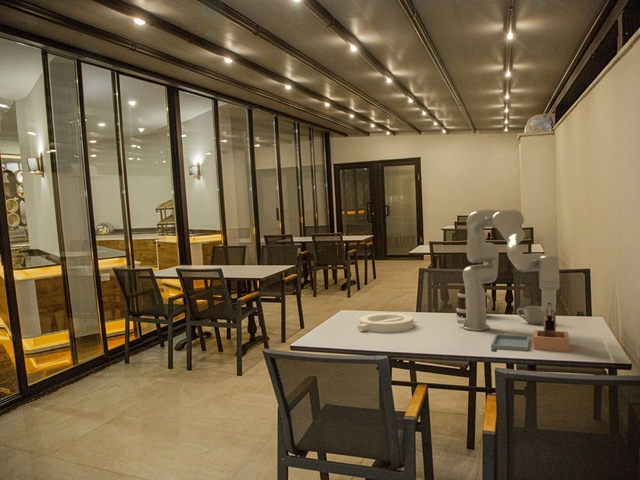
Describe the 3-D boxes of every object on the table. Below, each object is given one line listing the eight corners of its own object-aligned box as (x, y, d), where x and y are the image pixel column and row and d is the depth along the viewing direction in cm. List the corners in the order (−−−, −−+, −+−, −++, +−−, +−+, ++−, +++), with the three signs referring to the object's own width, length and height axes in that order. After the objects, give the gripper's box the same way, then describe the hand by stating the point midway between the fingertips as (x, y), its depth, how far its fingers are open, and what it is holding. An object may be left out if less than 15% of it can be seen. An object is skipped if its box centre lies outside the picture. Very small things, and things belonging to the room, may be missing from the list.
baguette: (544, 343, 201) (543, 316, 200) (544, 340, 205) (543, 314, 204) (556, 344, 199) (555, 317, 198) (555, 341, 203) (555, 315, 202)
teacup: (548, 322, 251) (547, 306, 251) (545, 326, 242) (544, 310, 242) (519, 320, 259) (519, 305, 258) (515, 324, 250) (515, 308, 249)
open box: (533, 351, 198) (533, 336, 198) (534, 343, 210) (533, 330, 210) (569, 353, 193) (569, 338, 193) (568, 345, 205) (567, 331, 204)
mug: (455, 318, 271) (454, 291, 271) (457, 312, 285) (456, 287, 285) (493, 319, 264) (492, 291, 264) (493, 313, 279) (492, 287, 278)
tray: (491, 350, 202) (491, 344, 202) (495, 339, 220) (495, 334, 220) (527, 353, 196) (527, 347, 196) (529, 341, 214) (529, 335, 214)
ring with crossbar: (413, 321, 269) (412, 312, 268) (413, 333, 241) (413, 323, 241) (362, 321, 274) (361, 313, 273) (357, 333, 246) (356, 324, 246)
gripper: (539, 281, 210) (540, 323, 211) (538, 287, 195) (539, 332, 196) (558, 282, 207) (559, 324, 208) (559, 288, 192) (560, 334, 192)
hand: (549, 328), depth 202 cm, fingers closed on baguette, 4 cm apart
